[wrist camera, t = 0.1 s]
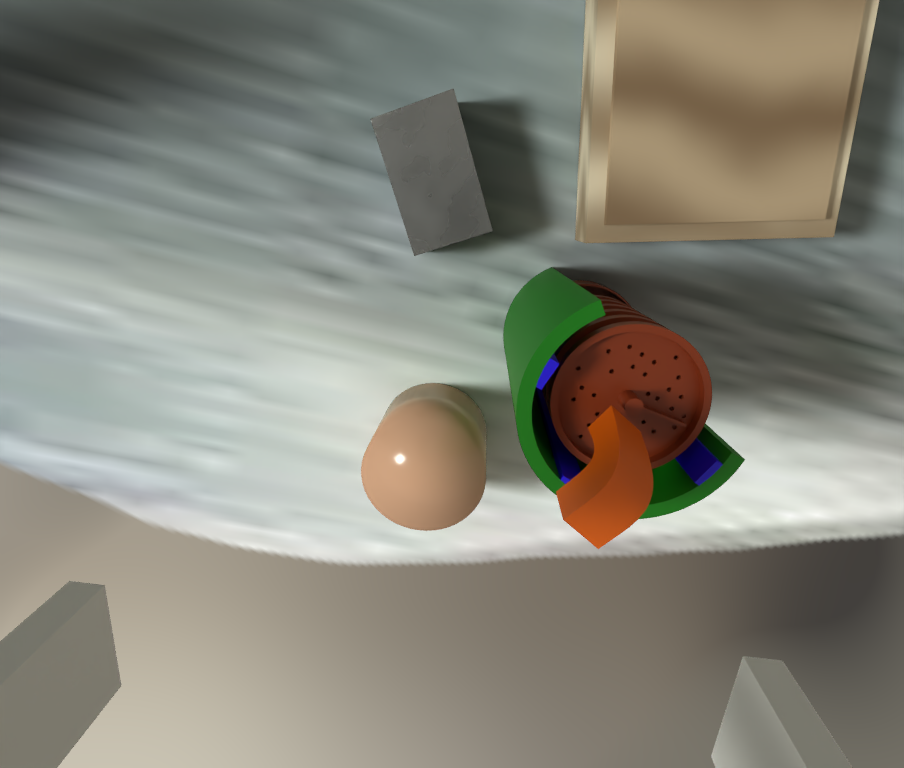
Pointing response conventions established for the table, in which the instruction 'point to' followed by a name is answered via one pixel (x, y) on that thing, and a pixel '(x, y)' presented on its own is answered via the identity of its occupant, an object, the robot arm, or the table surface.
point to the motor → (609, 407)
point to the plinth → (718, 117)
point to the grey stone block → (432, 172)
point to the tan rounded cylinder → (427, 458)
